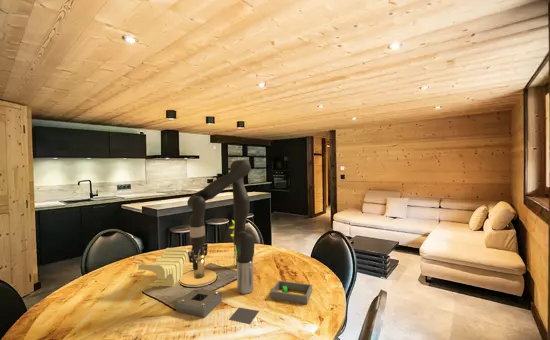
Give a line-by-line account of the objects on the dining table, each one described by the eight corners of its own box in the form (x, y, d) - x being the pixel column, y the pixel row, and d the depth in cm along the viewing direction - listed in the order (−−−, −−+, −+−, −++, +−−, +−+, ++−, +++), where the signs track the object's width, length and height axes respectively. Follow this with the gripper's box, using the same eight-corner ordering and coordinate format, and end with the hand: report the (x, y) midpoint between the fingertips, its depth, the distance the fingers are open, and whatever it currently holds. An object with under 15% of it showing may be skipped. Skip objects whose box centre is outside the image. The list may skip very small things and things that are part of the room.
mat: (239, 308, 133) (238, 307, 133) (259, 311, 129) (259, 310, 129) (228, 320, 122) (228, 319, 122) (249, 324, 119) (249, 323, 119)
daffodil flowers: (250, 271, 179) (249, 220, 178) (228, 272, 177) (227, 221, 177) (250, 262, 195) (249, 216, 195) (230, 263, 194) (229, 216, 194)
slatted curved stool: (165, 297, 146) (164, 265, 145) (139, 295, 148) (138, 264, 147) (189, 274, 175) (188, 248, 175) (167, 273, 177) (166, 247, 177)
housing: (196, 298, 144) (195, 287, 144) (221, 302, 139) (221, 291, 139) (176, 313, 129) (176, 301, 129) (204, 319, 124) (204, 306, 123)
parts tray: (278, 287, 155) (278, 280, 155) (312, 291, 148) (311, 284, 148) (270, 298, 142) (270, 291, 141) (307, 304, 135) (307, 296, 135)
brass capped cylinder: (197, 273, 137) (197, 252, 137) (207, 274, 135) (206, 253, 135) (190, 278, 132) (189, 256, 131) (200, 279, 130) (200, 257, 129)
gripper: (199, 230, 141) (200, 261, 141) (182, 238, 127) (183, 272, 128) (211, 231, 138) (212, 262, 139) (195, 239, 125) (196, 274, 125)
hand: (198, 267), depth 133 cm, fingers closed on brass capped cylinder, 5 cm apart
